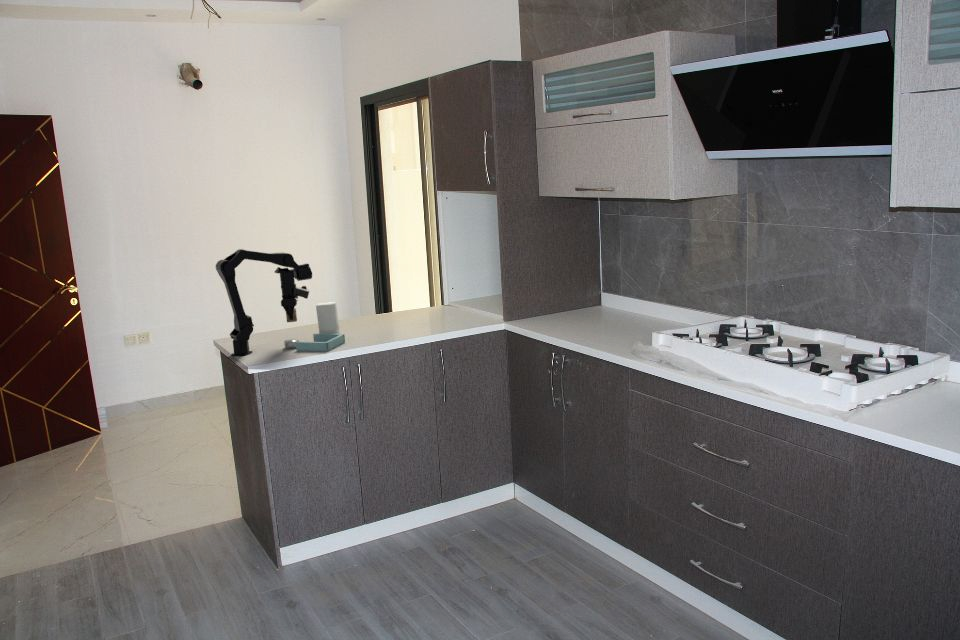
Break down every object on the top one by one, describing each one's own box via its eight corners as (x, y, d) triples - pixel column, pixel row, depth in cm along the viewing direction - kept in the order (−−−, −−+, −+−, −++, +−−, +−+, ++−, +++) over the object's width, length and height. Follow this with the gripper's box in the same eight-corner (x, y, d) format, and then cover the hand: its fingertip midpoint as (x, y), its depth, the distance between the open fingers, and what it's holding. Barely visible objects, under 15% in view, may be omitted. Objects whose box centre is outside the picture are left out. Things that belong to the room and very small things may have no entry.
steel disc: (295, 349, 333) (294, 342, 332) (282, 349, 335) (281, 342, 334) (301, 346, 339) (301, 339, 338) (289, 346, 340) (288, 339, 340)
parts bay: (327, 351, 326) (326, 342, 326) (296, 350, 330) (295, 342, 330) (345, 342, 342) (344, 334, 341) (315, 341, 346) (314, 333, 345)
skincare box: (340, 335, 356) (337, 301, 353) (338, 338, 349) (335, 303, 346) (321, 336, 355) (318, 302, 352) (318, 339, 349) (315, 304, 346)
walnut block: (296, 321, 338) (295, 309, 337) (287, 322, 337) (285, 310, 336) (297, 319, 342) (295, 308, 341) (287, 320, 341) (286, 309, 340)
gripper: (306, 284, 328) (310, 321, 331) (307, 277, 346) (311, 312, 349) (278, 286, 326) (283, 323, 330) (281, 280, 344) (285, 315, 348)
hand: (291, 318), depth 339 cm, fingers closed on walnut block, 4 cm apart
